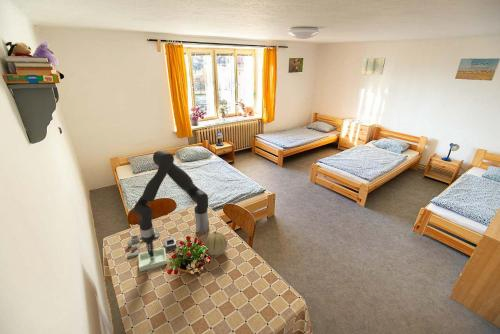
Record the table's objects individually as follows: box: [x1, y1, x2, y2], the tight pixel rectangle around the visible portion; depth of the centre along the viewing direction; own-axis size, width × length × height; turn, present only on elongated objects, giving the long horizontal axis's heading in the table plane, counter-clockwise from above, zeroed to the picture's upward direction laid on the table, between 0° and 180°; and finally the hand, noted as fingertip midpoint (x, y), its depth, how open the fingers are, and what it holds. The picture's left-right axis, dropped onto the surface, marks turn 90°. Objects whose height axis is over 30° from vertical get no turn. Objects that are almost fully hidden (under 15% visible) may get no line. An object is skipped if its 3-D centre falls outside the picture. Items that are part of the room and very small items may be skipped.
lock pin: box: [149, 244, 156, 261], centre depth 152 cm, size 4×4×11 cm
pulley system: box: [126, 230, 160, 259], centre depth 169 cm, size 27×5×15 cm
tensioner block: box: [164, 237, 178, 251], centre depth 167 cm, size 7×7×3 cm
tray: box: [138, 246, 168, 272], centre depth 155 cm, size 16×12×3 cm
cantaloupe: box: [204, 231, 228, 256], centre depth 160 cm, size 15×15×15 cm
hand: (151, 254), depth 153 cm, fingers closed on lock pin, 3 cm apart
